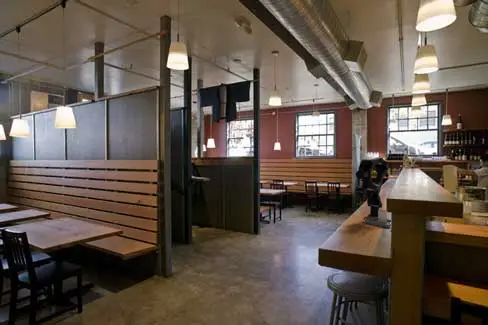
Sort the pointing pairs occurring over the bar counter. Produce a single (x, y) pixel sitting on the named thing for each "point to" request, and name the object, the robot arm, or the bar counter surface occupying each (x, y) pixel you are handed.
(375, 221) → the tray
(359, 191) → the robot arm
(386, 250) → the bar counter surface
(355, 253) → the bar counter surface
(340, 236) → the bar counter surface
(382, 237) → the bar counter surface
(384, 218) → the ceramic cup
